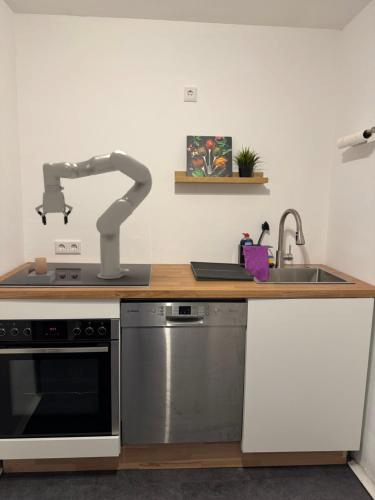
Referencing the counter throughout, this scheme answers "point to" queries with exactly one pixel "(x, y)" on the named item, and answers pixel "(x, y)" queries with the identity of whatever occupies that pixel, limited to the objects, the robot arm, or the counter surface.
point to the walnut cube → (30, 270)
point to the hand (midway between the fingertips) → (55, 224)
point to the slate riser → (41, 278)
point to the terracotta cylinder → (40, 266)
